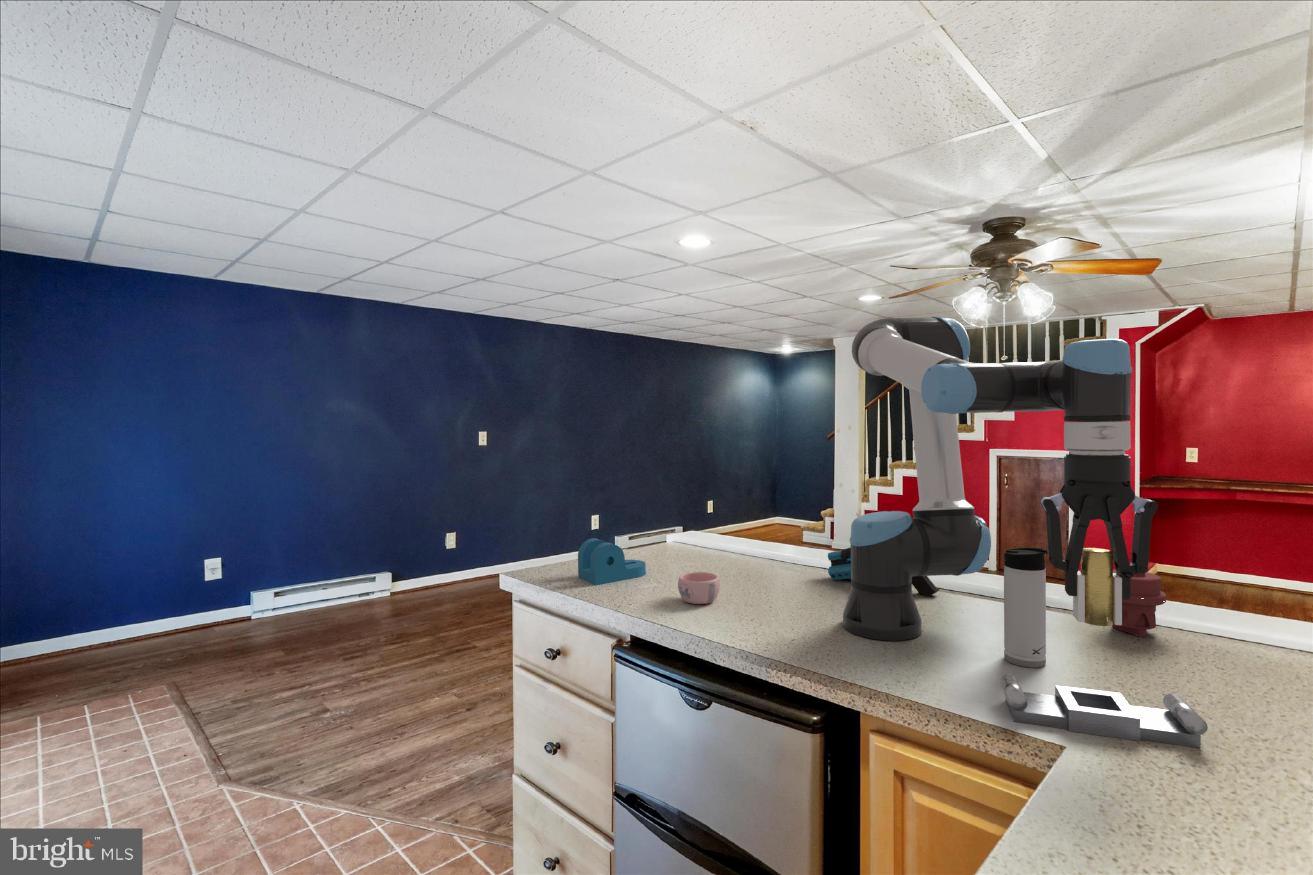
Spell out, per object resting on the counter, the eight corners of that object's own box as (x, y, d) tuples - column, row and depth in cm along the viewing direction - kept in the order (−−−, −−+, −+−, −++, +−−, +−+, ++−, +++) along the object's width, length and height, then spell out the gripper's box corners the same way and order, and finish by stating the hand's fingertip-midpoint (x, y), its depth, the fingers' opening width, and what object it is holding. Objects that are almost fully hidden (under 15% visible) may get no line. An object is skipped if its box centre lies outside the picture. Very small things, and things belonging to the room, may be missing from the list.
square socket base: (1008, 722, 87) (1008, 694, 86) (1000, 697, 94) (999, 672, 94) (1209, 750, 78) (1209, 720, 78) (1182, 721, 86) (1182, 693, 86)
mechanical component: (1147, 624, 125) (1178, 641, 115) (1091, 621, 127) (1117, 639, 117) (1147, 563, 124) (1178, 576, 114) (1091, 562, 126) (1117, 574, 116)
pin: (1085, 624, 85) (1085, 552, 85) (1078, 616, 88) (1077, 547, 88) (1116, 627, 84) (1116, 554, 83) (1108, 619, 87) (1108, 548, 87)
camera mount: (595, 586, 163) (594, 546, 163) (578, 577, 172) (577, 540, 171) (652, 575, 173) (652, 538, 172) (633, 568, 182) (632, 532, 181)
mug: (728, 601, 146) (728, 576, 146) (698, 610, 140) (698, 584, 140) (693, 591, 156) (693, 568, 155) (664, 599, 149) (663, 575, 149)
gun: (849, 598, 167) (835, 544, 170) (945, 590, 149) (927, 528, 151) (833, 605, 162) (819, 548, 164) (931, 597, 143) (913, 533, 146)
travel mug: (1048, 671, 103) (1048, 553, 103) (1003, 663, 107) (1002, 549, 106) (1048, 658, 108) (1047, 545, 108) (1005, 651, 112) (1004, 542, 111)
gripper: (1032, 454, 85) (1033, 623, 85) (1183, 454, 79) (1182, 635, 79) (1022, 451, 92) (1023, 607, 92) (1159, 450, 86) (1159, 617, 86)
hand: (1096, 620), depth 86 cm, fingers closed on pin, 3 cm apart
